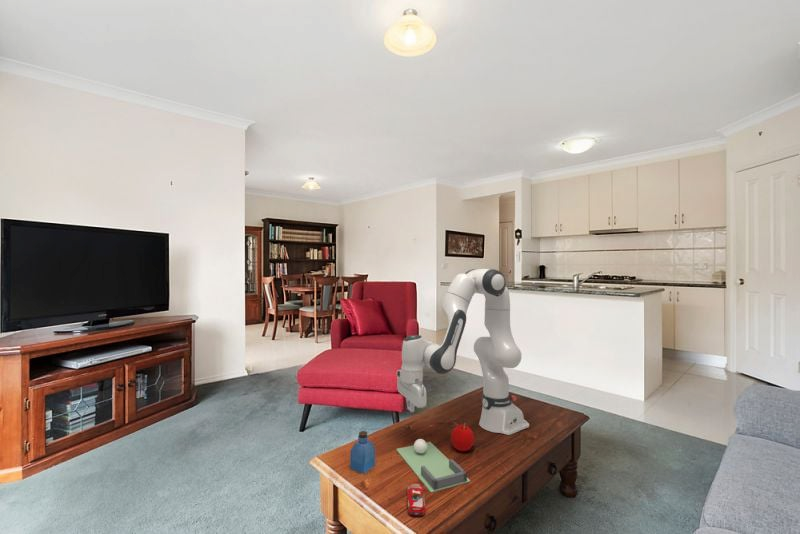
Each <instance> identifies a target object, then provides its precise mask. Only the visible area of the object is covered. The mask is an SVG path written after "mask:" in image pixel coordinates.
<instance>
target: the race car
mask: <svg viewBox="0 0 800 534" xmlns="http://www.w3.org/2000/svg"><path fill="white" fill-rule="evenodd" d="M406 488H407V489H406V491H407V496H406V498H407V499H406V500H407V512H408V514H409V515H410V516H413V517H414V516H415V517H416V516H418V517H419V516H425V514H426V502H425V489H424V486H423V485H422V484H421V483H419V482H411V483H410V484H408V485H407V487H406Z"/></svg>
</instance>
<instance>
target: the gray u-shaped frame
mask: <svg viewBox="0 0 800 534" xmlns="http://www.w3.org/2000/svg"><path fill="white" fill-rule="evenodd" d="M448 459H449V458H448ZM449 468H450V469H451V470H452V471H453V472H454V473H455V474H452V475H448V476H444V477H440V478H437V479H435V477H434V476H433V475H432V474H431V473H430V472H429V471H428V470H427V468H426V467H425V466H421V475H422V476H423V478H424V479H425V480H426V481H427V482H428V484H429V485H430V486H431V487H432V488H433V490H437V489H440V488H444V487H447V486H451V485H455V484H458V483H462V482H465V481H467V478H468V473H467V472H466V470H464V469H463V467H461V466H460V465H459V464H458V463H457V462H456V461H455V460H453V458H451V459H449Z"/></svg>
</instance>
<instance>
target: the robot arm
mask: <svg viewBox="0 0 800 534" xmlns="http://www.w3.org/2000/svg"><path fill="white" fill-rule="evenodd" d="M506 284H507V283H506V277H505V275H504V273H502V272H501V271H500V270H498V269H494V268H490V269H489V268H477V269H476V268H475V269H474V268H473V269H469V270H468V271H466V272H464V273H458V274H456V276H455V277H454V278H453V280H451V282H450V283H449V286H448V288H447V289H446V292H445V293H444V296H443V298H442V301H441V305H440V307H441V310H442V312H443V314H444V315H445V317H446V318H447V321H448V322H447V323H448V326H447V330H446V333H445V335H444V339H443V341H442V344H441V345H440V344H439V343H436V342H433V341H430V340H427V339H426V338H424V337H423V336H422V335H420V334H411V335H408V336H406V337H404V339H403V341H402V347H401V362H402V364H401V367H400V368H401V369H397V370H396V376H397V377H396V379H397V380H396V381H397V383H396V385H397V386H396V387H397V391H398V393H400V394H401V395H402V396H403V397H404V398H405V401H406V406H407V408H406V409H407V410H408V411H409V412H411V413H414V412H415V407H416V408H418V409H421V408H425V407H426V406H427V405H428V404H427V388H426V387H425V386H424V383H423V382H424V381H423V380H424V378H423V377H424V367H426V366H427V367H428V368H431V369H432V370H433V371H434V372H435V373H437V374H439V375H445V374H448V373H450V372H451V371H452V370H453V369H454V367H455V366H456V363H457V362H456V361H457V352H458V349H459V346H460V343H461V340H462V336H463V333H464V331H465V327H466V323H467V313H468V309H469V307H470V303H471V301H472V299H473V296H474V295H475V294H481V295H483V296H484V327H485V328H486V330H487V331H488V334H489V336H480V337H477V338H476V340H475V342H474V344H473V351H474V354H475V355H476V357H477V359H478V361H479V365H480V368H481V371H482V382H483V383H482V385H483V387H482V388H483V390H482V391H483V392H481V393H482V394H481V402H482V403H481V404H482V407H481V408H482V409H481V414H480V419H479V423H478V425H479V427H481V428H482V429H483V430H486V431H488V432H491V433H498V434H504V435H507V436H510V435H513V434H515V433H518V432H520V431H522V430H524V429H528V428H530V423H529V422H528V421H527V420H525V418H524V414H523V413H524V412H523V410H521V409H520V408H519V407H517V406H516V404H514V403H513V402H515V401H516V400H517V397H516V396H515V395H510V394H509V393H510V391H509V389H510V384H509V380H510V379H509V376H508V374H507V373H506V372H505V369H514V368H517V367H518V366H519V365H520V363H521V360H522V358H523V357H522V350H521V349H520V348H519V347H518V345H517V344H516V342H515V339H514V337H513V332H512V329H511V300H510V299H511V298H510V291H509V289H508V287H507V285H506ZM504 368H505V369H504ZM512 401H513V402H512Z"/></svg>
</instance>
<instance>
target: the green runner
mask: <svg viewBox="0 0 800 534" xmlns="http://www.w3.org/2000/svg"><path fill="white" fill-rule="evenodd" d="M425 442H426V441H425ZM426 443H427V449H426V451H425V452H424V453H422V454H420V453H417V452H416V451H415V449H414V444H412V445H409V446H404V447H399V448H396V449H395V450H396V452H397V453H398V454H399V455H400V456H401V458H402V459H403V460H404V461H405V463H406V464H407V465H408V466H409V467H410V469H411V470H412V471H413V473H414V474H415V475H416V476H417V477H418V479H419V480H420V481H421V483H422V484H423V485H424V486H425V488H426V489H427V490H428V491H429V492H430V493H431V494H432V493H435V492H440V491H442V490H445V489H449V488H452V487H457V486H460V485H464V484H466V483H470V482H471V480H470V479H469V477H467V481H465V482H462V483H458V484H455V485H451V486H447V487H444V488H440V489H437V490H433V488H432V487H431V486H430V485H429V484H428V482H427V481H426V480H425V479H424V478H423V476H422V475H421V466H425V467H426V468H427V470H428V471H429V472H430V473H431V474H432V475H433V476H434V477H435V479H437V478H440V477H444V476H448V475H452V474H455V473H454V472H453V471H452V470H451V469H450V468H449V458H447V457H448V456H447V457H446V456H445V454H443V453H442V452H441V451H440V450H439V449H438V448H437V447H436V446H435V445H434V444H433V443H432V442H431V441H427V442H426Z"/></svg>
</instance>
